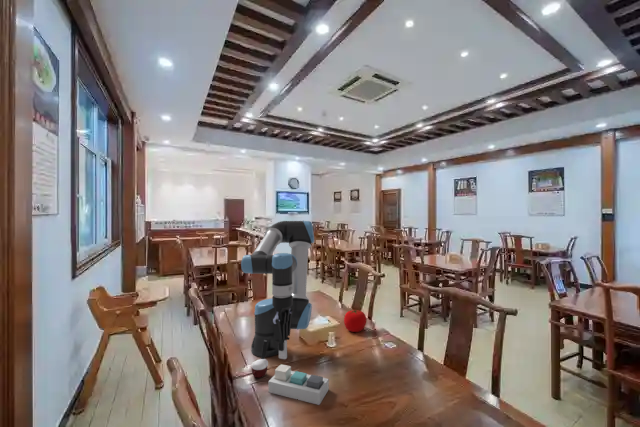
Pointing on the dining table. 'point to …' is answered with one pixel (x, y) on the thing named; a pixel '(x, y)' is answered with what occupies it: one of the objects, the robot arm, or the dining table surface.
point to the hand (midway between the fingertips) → (282, 357)
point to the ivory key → (283, 372)
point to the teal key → (299, 378)
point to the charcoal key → (315, 382)
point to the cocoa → (260, 364)
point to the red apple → (355, 320)
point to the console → (298, 390)
